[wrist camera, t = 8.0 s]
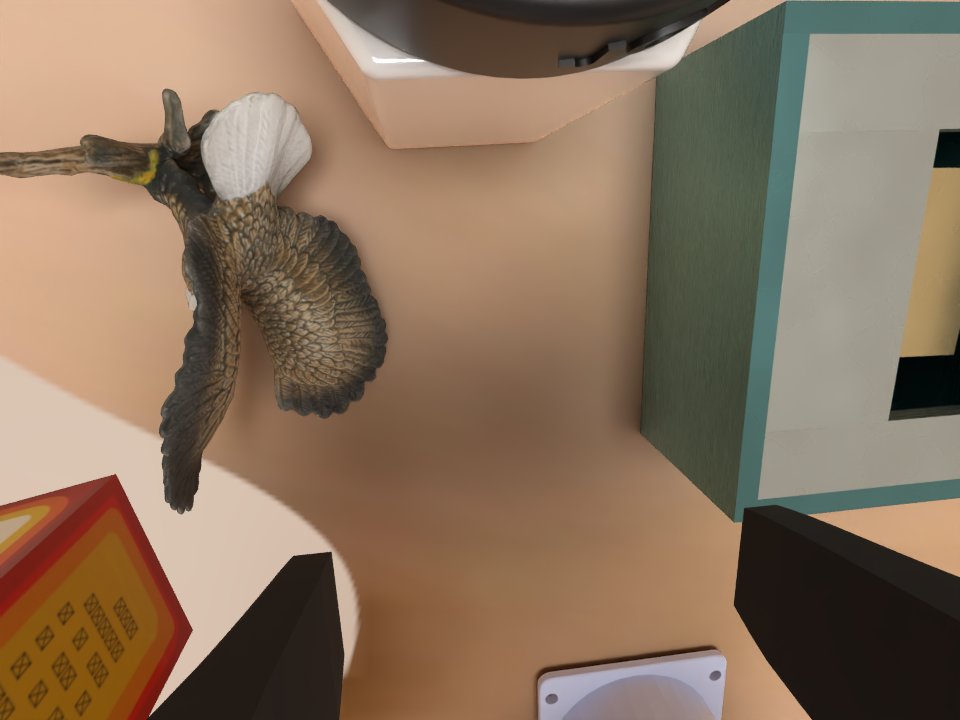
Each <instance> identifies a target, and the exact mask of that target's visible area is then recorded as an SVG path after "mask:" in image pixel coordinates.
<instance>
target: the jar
mask: <svg viewBox="0 0 960 720" xmlns="http://www.w3.org/2000/svg"><path fill="white" fill-rule="evenodd" d="M728 1H730V0H291V2H292V4H293V5H294V7H295V9H296V10H297V12H298V13H299V15H300V16H301V18H302V19H303V21H304V22H305V24H306V25H307V27H308V28H309V30H310V31H311V33H312V34H313V36H314V37H315V39H316V40H317V42H318V43H319V45H320V46H321V48H322V49H323V51H324V52H325V54H326V55H327V57H328V58H329V60H330V61H331V63H332V64H333V66H334V67H335V69H336V71H337V72H338V74H339V75H340V77H341V78H342V80H343V81H344V83H345V84H346V86H347V87H348V89H349V90H350V92H351V93H352V95H353V96H354V98H355V99H356V101H357V102H358V104H359V105H360V107H361V108H362V110H363V111H364V113H365V114H366V116H367V117H368V119H369V120H370V122H371V123H372V125H373V126H374V128H375V129H376V131H377V132H378V134H379V135H380V137H381V138H382V140H383V142H384V143H385V144H386V146H388V147H389V148H391V149H406V148H426V147H447V146H467V145H487V144H507V143H528V142H536V141H538V140H540V139H541V138H543V137H545V136H547V135H549V134H551V133H553V132H554V131H556V130H558V129H560V128H562V127H564V126H566V125H567V124H569V123H571V122H573V121H575V120H577V119H579V118H581V117H582V116H584V115H586V114H588V113H590V112H592V111H594V110H595V109H597V108H599V107H601V106H603V105H605V104H607V103H608V102H610V101H612V100H614V99H616V98H618V97H620V96H621V95H623V94H625V93H627V92H629V91H631V90H633V89H635V88H636V87H638V86H640V85H642V84H644V83H646V82H648V81H649V80H651V79H653V78H655V77H657V76H659V75H661V74H663V73H664V72H666V71H668V70H670V69H672V68H673V67H675V66H676V65H677V64H678V63H679V62H680V60H681V59H682V57H683V55H684V54H685V52H686V50H687V48H688V46H689V44H690V42H691V40H692V38H693V36H694V34H695V32H696V31H697V29H698V27H699V25H700V23H701V21H702V19H703V18H704V17H706V16H707V15H709V14H710V13H712V12H713V11H715V10H716V9H718V8H719V7H721V6H722V5H724V4H725V3H727V2H728Z"/></svg>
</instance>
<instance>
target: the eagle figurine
mask: <svg viewBox="0 0 960 720" xmlns="http://www.w3.org/2000/svg"><path fill="white" fill-rule="evenodd" d="M162 98H163V104H164V109H165V128H164V133H163V134H162V136H161V137H160V138H159V140H158V144H137V143H127V142H119V141H116V140H112V139H108V138H104V137H101V136H97V135H85V136H84V137H83V138H81V140H80V144H81V146H75V147H66V148H59V149H53V150H46V151H39V152H26V153H18V152H2V153H0V174H1V175H6V176H11V177H18V178H26V177H34V176H43V175H51V174H60V175H70V176H72V175H75V174H78V173H84V172H91V173H97V174H102V175H107V176H110V177H112V178H114V179H117V180H121V181H125V182H128V183H132V184H139V185H143V186H144V187H145V188H146V189H147V190H148V192H149V193H150V195H151V196H152V197H153V198H154V200H156V201H158V202H160V203H162V204H164V205H166V206H167V207H168V208H169V209H170V210H171V211H172V213H173V215H174V217H175V219H176V220H177V222H178V224H179V227H180V230H181V232H182V234H183V238H184V244H185V250H184V253H183V255H182V275H183V277H184V280H185V283H186V291H185V294H186V299H187V302H188V305H189V309H190V310H192V311H194V313H193V319H194V324H193V327H192V328H191V329H190V331H189V332H188V333H187V335H186V337H185V338H184V343H185V351H184V354H183V365H182V367H181V368H180V369H179V370H178V371H177V372H176V373H175V385H176V386H175V389H174V391H173V392H172V393H171V394H170V395H169V396H168V398H167V399H166V401H165V403H164V404H163V406H162V409H161V416H162V418H163V420H162V423H161V425H160V428H159V434H160V436H161V437H162V438H164V441H163V444H162V447H161V452H162V454H164V456H163V460H162V468H163V476H164V479H163V483H164V486H165V490H164V492H165V501H166V502H167V503H170V506H171V508H172V509H173V510H177V512H178V513H179V514H183V513H184V511H185V509H186V510H187V511H190V510H191V509H192V507H193V502H194V495H195V493H196V492H197V490H198V484H199V472H200V470H201V457H202V452H203V450H204V449H205V448H206V446H207V445H208V443H209V442H210V440H211V438H212V437H213V435H214V433H215V432H216V430H217V428H218V426H219V425H220V423H221V422H222V420H223V418H224V415H225V413H226V411H227V409H228V406H229V404H230V402H231V400H232V399H233V396H234V390H235V383H236V378H237V372H238V365H239V358H240V349H241V347H240V344H241V314H242V310H241V302H242V304H243V305H244V306H245V307H246V308H247V309H248V311H249V312H250V314H251V315H252V317H253V318H254V320H255V321H256V323H257V324H258V326H259V328H260V329H261V332H262V334H263V337H264V339H265V342H266V345H267V348H268V352H269V354H270V356H271V359H272V362H273V363H274V382H275V387H276V390H275V391H276V399H277V401H278V406H279V407H280V409H281V410H284V411H288V410H290V409H293V410H295V411H296V412H297V413H298V414H300V415H301V416H306V415H309V414H310V413H312V412H314V413H315V414H316V415H317V416H318V417H320V418H324V419H326V418H328V417H329V416H330V415H331V413H332V412H333V413H336V414H343V413H344V412H345V411H346V410H347V408H348V406H349V403H350V402H351V401H354V402H356V401H359V400H360V399H361V398H362V396H363V393H364V382H365V381H367V382H372V381H373V380H374V379H375V378H376V368H379V367H381V366H382V364H383V363H384V356H385V353H386V347H385V343H386V342H387V340H388V338H387V334H386V332H385V328H386V323H385V320H384V319H382V318H381V317H380V310H379V308H378V304H377V301H376V299H375V298H374V297H372V296H370V292H371V289H370V287H369V285H368V283H367V279H366V276H365V274H364V273H363V271H361V270H360V264H361V261H360V258H359V257H358V255H357V249H356V247H355V246H354V245H353V244H351V242H350V239H349V238H348V237H347V236H346V235H345V234H343V233H342V232H341V231H340V230H339V228H338V226H337V224H336V223H335V222H333V221H328V220H327V219H326V218H325V217H324V216H322V215H320V216H318V217H315V218H313V217H311V216H310V215H309V214H307V213H305V212H301V213H299V214H297V215H296V214H295V213H294V211H293V210H292V209H291V208H290V207H278V206H277V204H276V201H277V200H278V198H279V196H280V195H281V193H282V192H283V191H284V189H285V188H286V187H287V186H288V185H289V183H290V181H291V180H292V179H293V178H294V177H295V175H296V174H297V173H298V172H299V171H300V170H301V169H302V168H303V167H304V166H305V165H306V163H307V162H308V161H309V160H310V158H311V154H312V144H311V138H310V135H309V134H308V132H307V131H306V128H305V126H304V125H303V124H302V122H301V119H300V116H299V113H298V111H297V109H296V108H295V107H294V106H293V105H291V104H289V103H287V102H285V101H284V100H283V99H282V98H281V97H280V96H279V95H278V94H275V93H266V94H265V93H260V92H254V93H249V94H247V95H245V96H243V97H242V98H240V99H238V100H236V101H233V102H231V103H230V104H229V105H228V106H227V107H226V108H225V109H224V110H223V111H221V112H219V111H218V110H210V111H208V112H207V113H206V114H205V115H204V116H203V118H202V120H201V121H200V122H199V123H198V124H196V125H194V126H192V127H191V128H190V129H189V131H188V132H187V129H186V126H185V123H184V117H183V110H182V106H181V101H180V99H179V97H178V95H177V94H176V92H174V91H173V90H170V89H164V90H163V92H162ZM199 188H201V189H202V190H203V191H204V193H205V194H203V193H202V192H201V191H200V189H199Z"/></svg>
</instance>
